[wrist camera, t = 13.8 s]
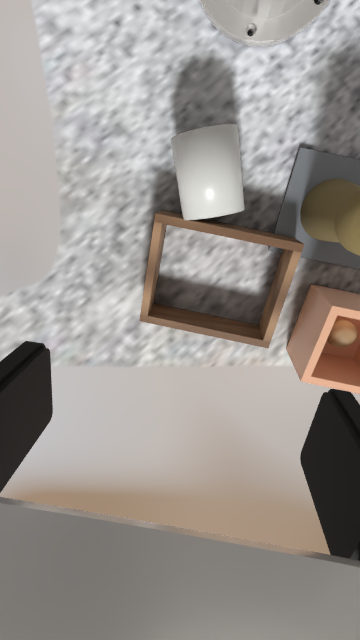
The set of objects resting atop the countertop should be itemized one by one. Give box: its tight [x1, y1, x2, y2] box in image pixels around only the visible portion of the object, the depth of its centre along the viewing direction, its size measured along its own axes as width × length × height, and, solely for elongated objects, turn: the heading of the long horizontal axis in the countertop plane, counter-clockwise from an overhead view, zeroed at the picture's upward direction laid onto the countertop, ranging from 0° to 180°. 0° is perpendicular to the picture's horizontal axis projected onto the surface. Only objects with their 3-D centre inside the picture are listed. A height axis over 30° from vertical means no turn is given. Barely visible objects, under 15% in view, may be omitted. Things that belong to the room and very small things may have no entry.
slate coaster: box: [269, 148, 360, 269], centre depth 32 cm, size 10×10×1 cm
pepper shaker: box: [300, 179, 360, 256], centre depth 27 cm, size 6×6×11 cm
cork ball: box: [327, 319, 357, 348], centre depth 35 cm, size 3×3×3 cm
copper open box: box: [286, 284, 360, 394], centre depth 34 cm, size 9×9×7 cm
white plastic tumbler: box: [171, 124, 245, 220], centre depth 29 cm, size 7×6×6 cm
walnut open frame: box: [140, 210, 304, 348], centre depth 34 cm, size 12×15×4 cm
